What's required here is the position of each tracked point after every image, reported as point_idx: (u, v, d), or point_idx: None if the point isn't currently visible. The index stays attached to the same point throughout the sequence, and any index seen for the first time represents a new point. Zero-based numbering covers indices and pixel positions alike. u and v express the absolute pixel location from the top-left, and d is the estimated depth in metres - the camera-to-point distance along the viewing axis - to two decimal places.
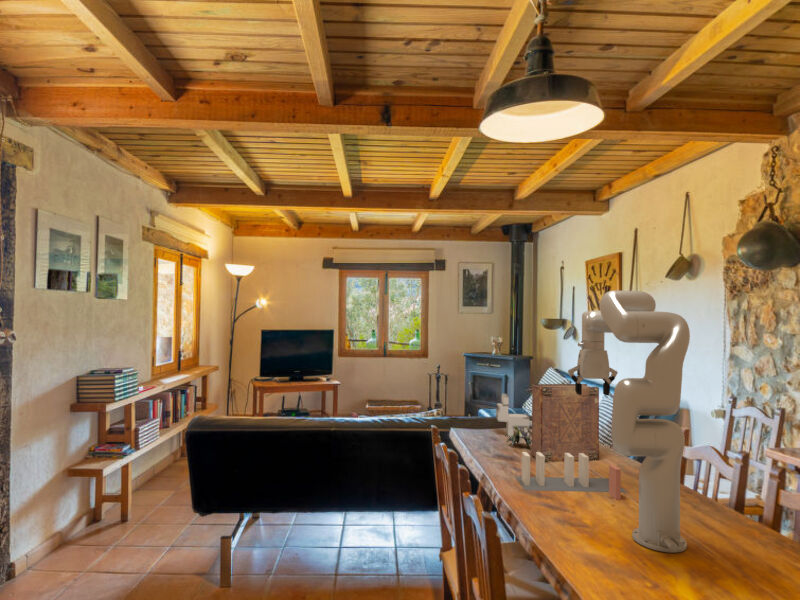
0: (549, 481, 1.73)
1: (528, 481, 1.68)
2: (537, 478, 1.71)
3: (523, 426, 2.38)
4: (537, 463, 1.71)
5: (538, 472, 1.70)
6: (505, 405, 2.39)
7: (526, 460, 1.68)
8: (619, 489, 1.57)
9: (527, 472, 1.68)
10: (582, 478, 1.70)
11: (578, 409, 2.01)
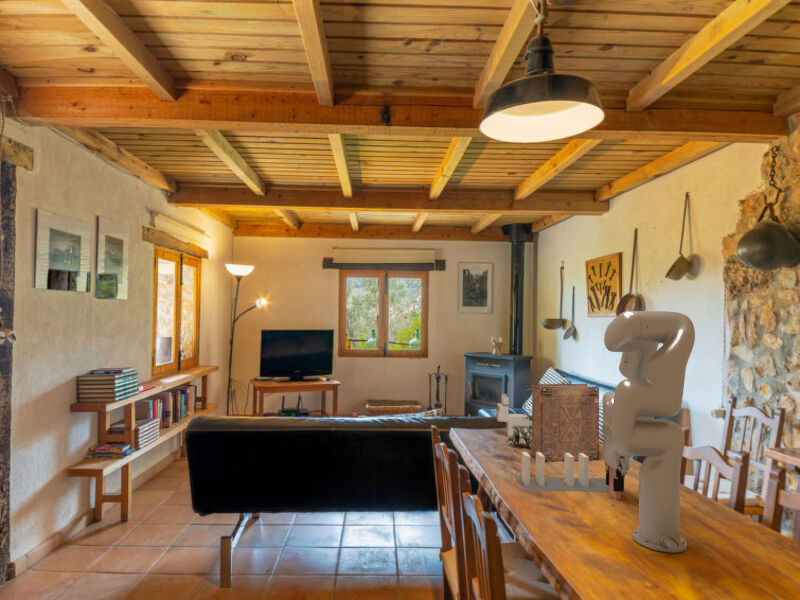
0: (549, 481, 1.73)
1: (528, 481, 1.68)
2: (537, 478, 1.71)
3: (523, 426, 2.38)
4: (537, 463, 1.71)
5: (538, 472, 1.70)
6: (505, 405, 2.39)
7: (526, 460, 1.68)
8: None
9: (527, 472, 1.68)
10: (582, 478, 1.70)
11: (578, 409, 2.01)
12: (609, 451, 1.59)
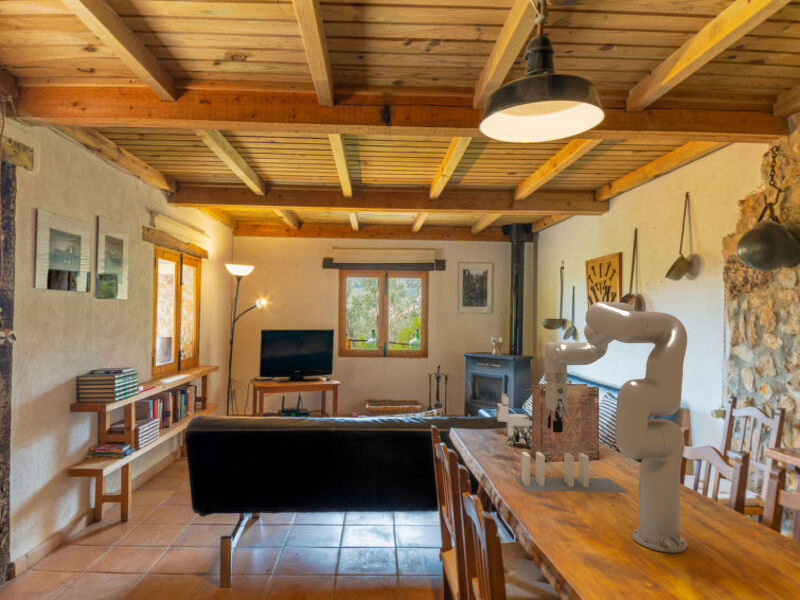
0: (549, 481, 1.73)
1: (528, 481, 1.68)
2: (537, 478, 1.71)
3: (523, 426, 2.38)
4: (537, 463, 1.71)
5: (538, 472, 1.70)
6: (505, 405, 2.39)
7: (526, 460, 1.68)
8: None
9: (527, 472, 1.68)
10: (582, 478, 1.70)
11: (578, 409, 2.01)
12: (549, 395, 1.70)
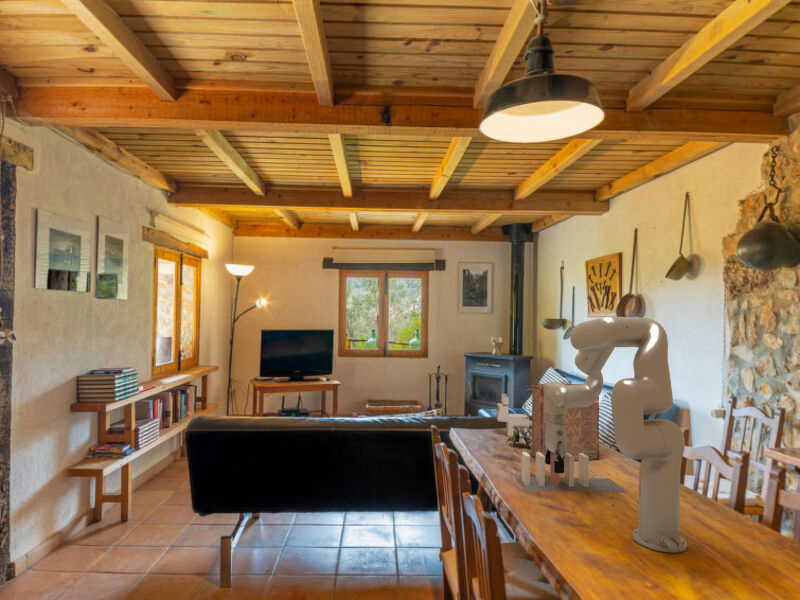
0: (549, 481, 1.73)
1: (528, 481, 1.68)
2: (537, 478, 1.71)
3: (523, 426, 2.38)
4: (537, 463, 1.71)
5: (538, 472, 1.70)
6: (505, 405, 2.39)
7: (526, 460, 1.68)
8: (558, 475, 1.68)
9: (527, 472, 1.68)
10: (582, 478, 1.70)
11: (578, 409, 2.01)
12: (549, 436, 1.70)
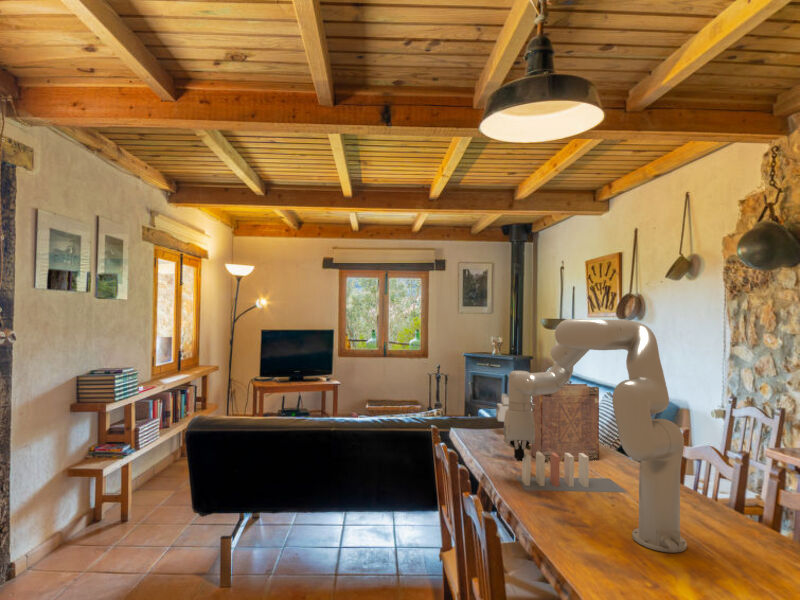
0: (549, 481, 1.73)
1: (528, 481, 1.68)
2: (537, 478, 1.71)
3: None
4: (537, 463, 1.71)
5: (538, 472, 1.70)
6: (505, 405, 2.39)
7: (527, 460, 1.68)
8: (558, 475, 1.68)
9: (527, 472, 1.68)
10: (582, 478, 1.70)
11: (578, 409, 2.01)
12: (524, 425, 1.69)
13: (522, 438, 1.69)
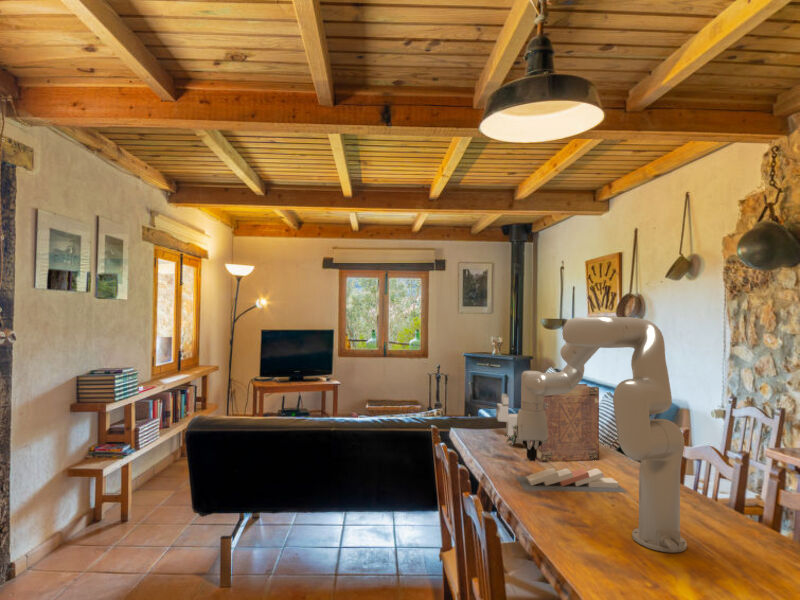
0: None
1: (534, 483, 1.68)
2: None
3: None
4: (559, 472, 1.71)
5: None
6: (505, 405, 2.39)
7: (553, 474, 1.68)
8: (571, 481, 1.68)
9: (542, 478, 1.68)
10: None
11: (578, 409, 2.01)
12: (537, 425, 1.69)
13: (535, 438, 1.69)
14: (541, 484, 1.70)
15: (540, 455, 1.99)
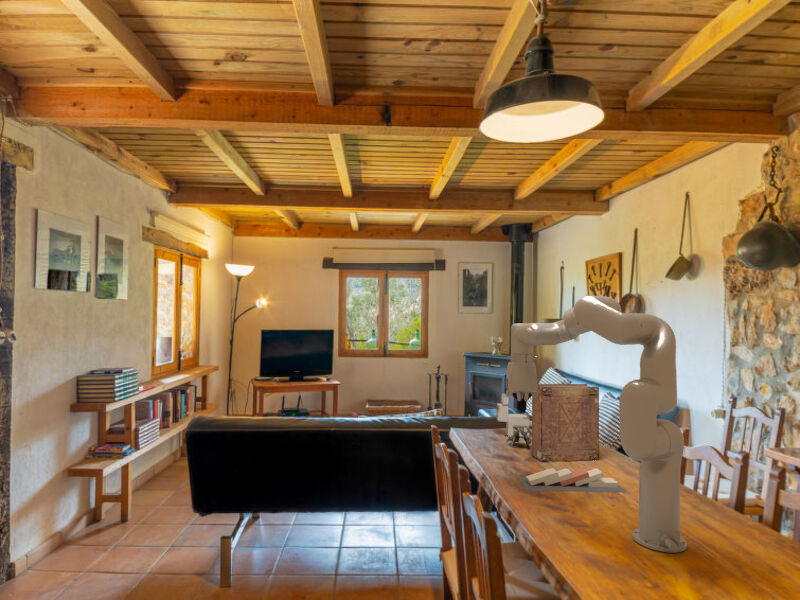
0: None
1: (534, 483, 1.68)
2: None
3: (523, 426, 2.38)
4: (559, 472, 1.71)
5: None
6: (505, 405, 2.39)
7: (553, 474, 1.68)
8: (571, 481, 1.68)
9: (542, 478, 1.68)
10: None
11: (578, 409, 2.01)
12: (527, 377, 1.68)
13: (524, 390, 1.68)
14: (541, 484, 1.70)
15: (540, 455, 1.99)
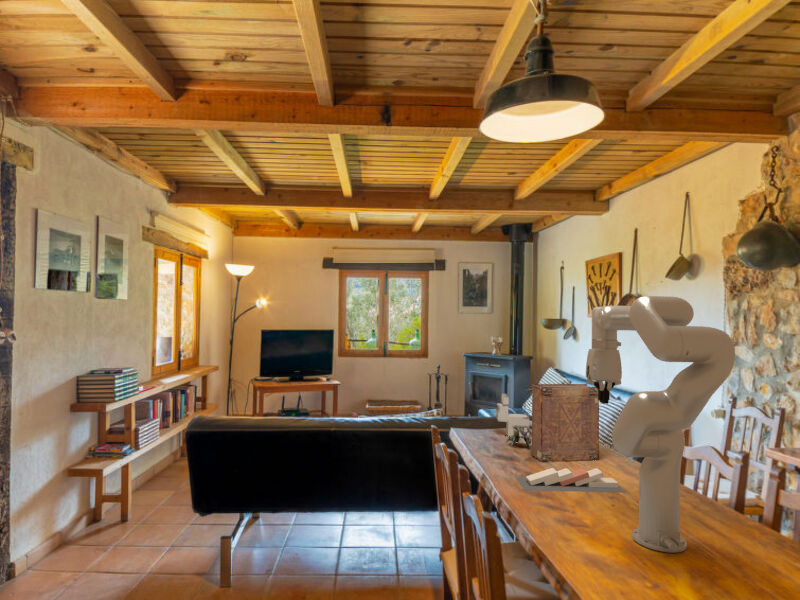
0: None
1: (534, 483, 1.68)
2: None
3: (523, 426, 2.38)
4: (559, 472, 1.71)
5: None
6: (505, 405, 2.39)
7: (553, 474, 1.68)
8: (571, 481, 1.68)
9: (542, 478, 1.68)
10: None
11: (578, 409, 2.01)
12: (611, 365, 1.55)
13: (608, 378, 1.56)
14: (541, 484, 1.70)
15: (540, 455, 1.99)
